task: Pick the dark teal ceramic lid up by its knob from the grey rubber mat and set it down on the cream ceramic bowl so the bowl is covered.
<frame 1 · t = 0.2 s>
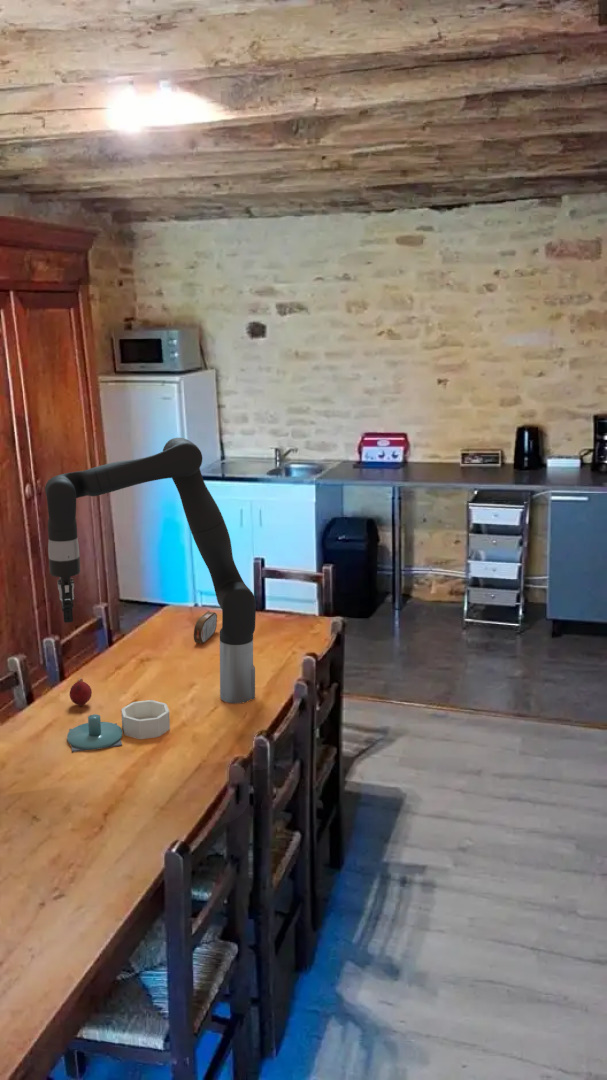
hand: (67, 616, 227), 28 cm above the table, fingers open, 8 cm apart
onion: (81, 706, 241), on the table
lid: (95, 736, 223), resting on mat
bowl: (145, 728, 229), on the table
mat: (95, 737, 223), on the table
tin: (206, 639, 292), on the table
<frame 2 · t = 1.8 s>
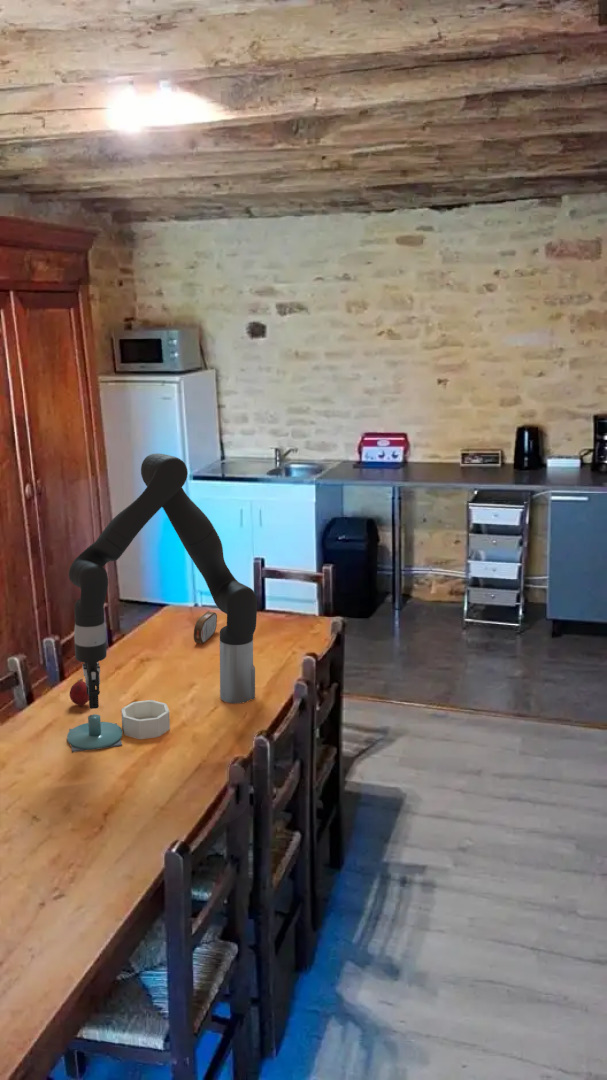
hand: (92, 701, 221), 10 cm above the table, fingers open, 8 cm apart
nothing on the table moved.
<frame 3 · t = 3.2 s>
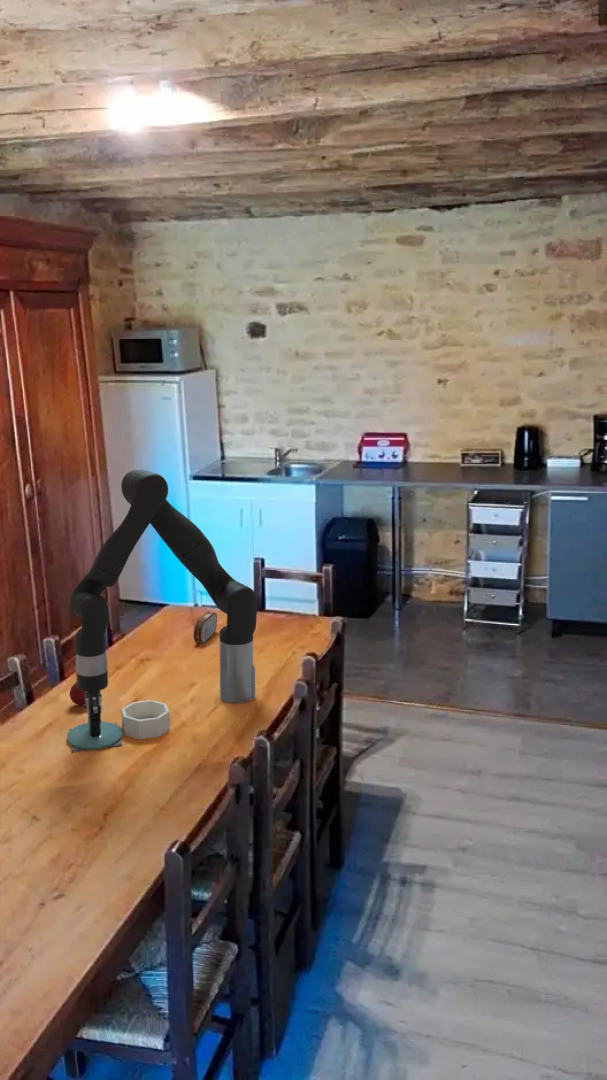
hand: (94, 732, 223), 2 cm above the table, fingers closed on lid, 3 cm apart
lid: (95, 736, 223), resting on mat, touching gripper
everything else where it was.
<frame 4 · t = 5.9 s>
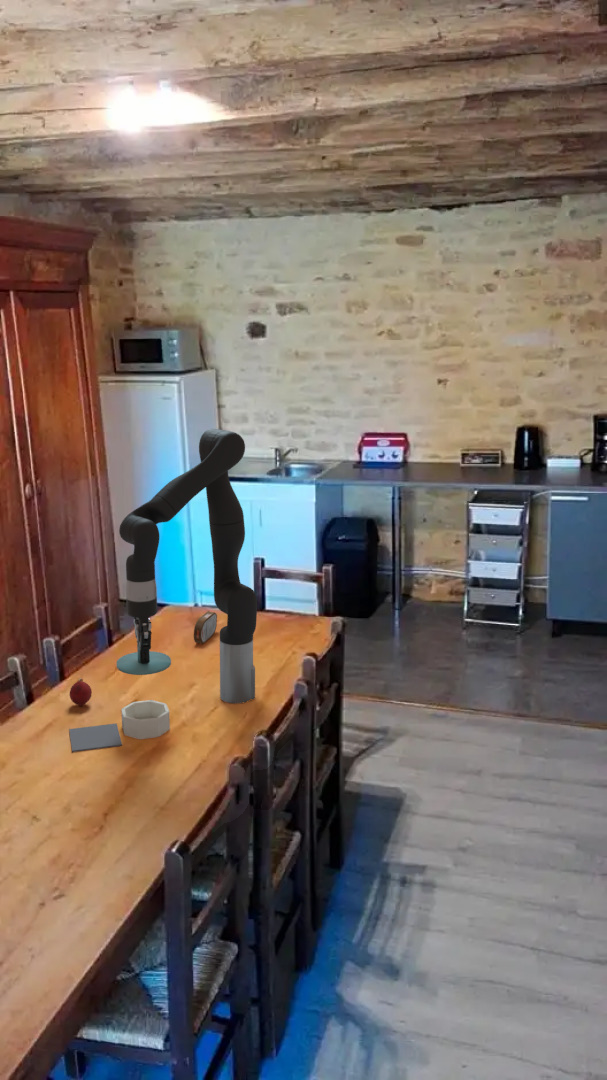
hand: (143, 660, 224), 19 cm above the table, fingers closed on lid, 3 cm apart
lid: (143, 664, 225), point 18 cm above the table, touching gripper
everything else where it was.
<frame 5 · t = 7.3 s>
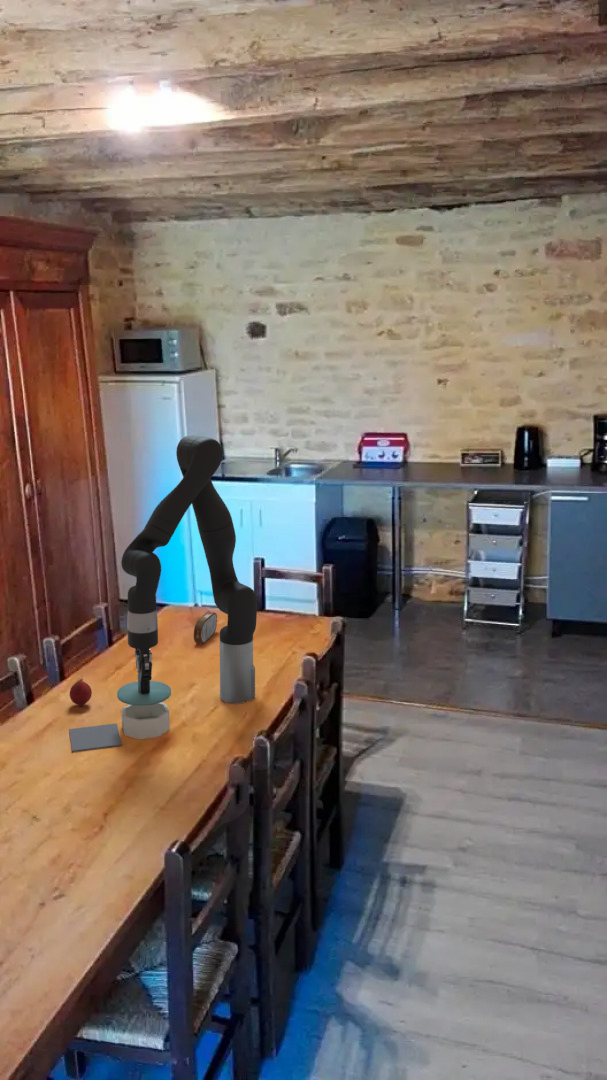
hand: (144, 690, 226), 11 cm above the table, fingers closed on lid, 3 cm apart
lid: (144, 694, 227), point 9 cm above the table, touching gripper
everything else where it was.
when the fingers open (8 cm above the table, at t = 8.6 s): lid drops 1 cm, resting on bowl.
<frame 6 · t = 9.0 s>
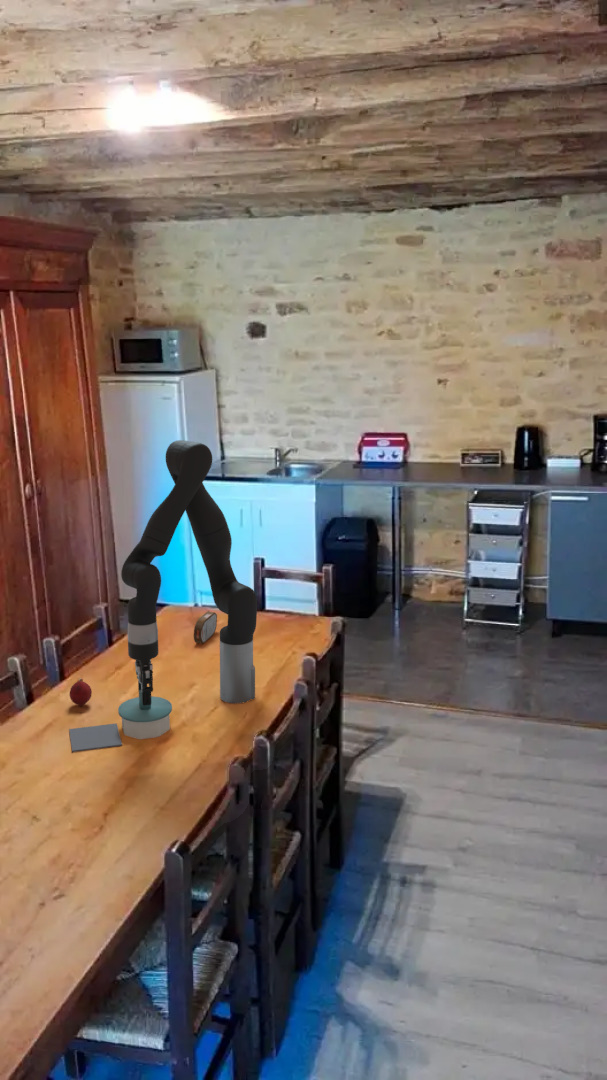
hand: (144, 698, 227), 8 cm above the table, fingers open, 6 cm apart
lid: (145, 710, 228), point 5 cm above the table, touching bowl
everything else where it was.
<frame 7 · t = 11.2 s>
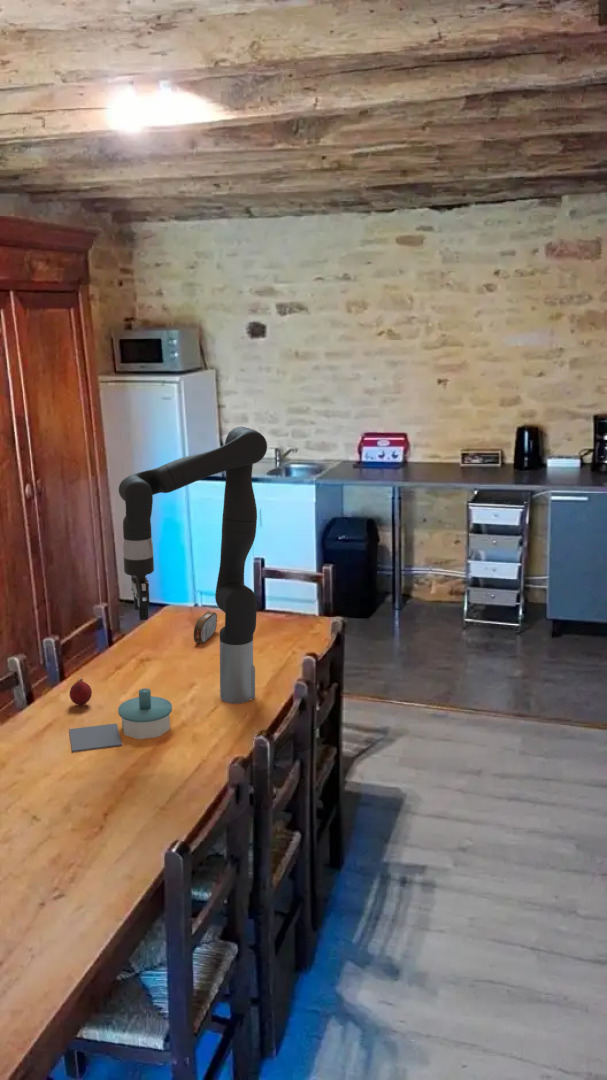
hand: (141, 614, 230), 28 cm above the table, fingers open, 8 cm apart
nothing on the table moved.
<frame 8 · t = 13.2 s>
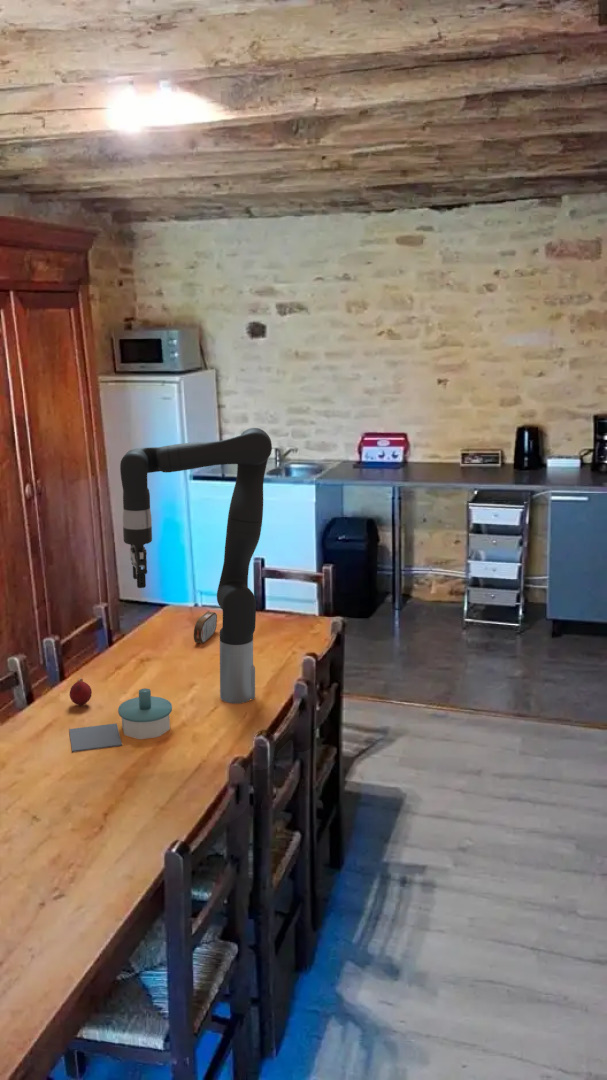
hand: (139, 582, 240), 33 cm above the table, fingers open, 8 cm apart
nothing on the table moved.
at the end: lid 0.0 cm off-centre on the bowl, point 5.0 cm above the bowl's base; lid tilted 0°; the gripper is holding nothing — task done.
